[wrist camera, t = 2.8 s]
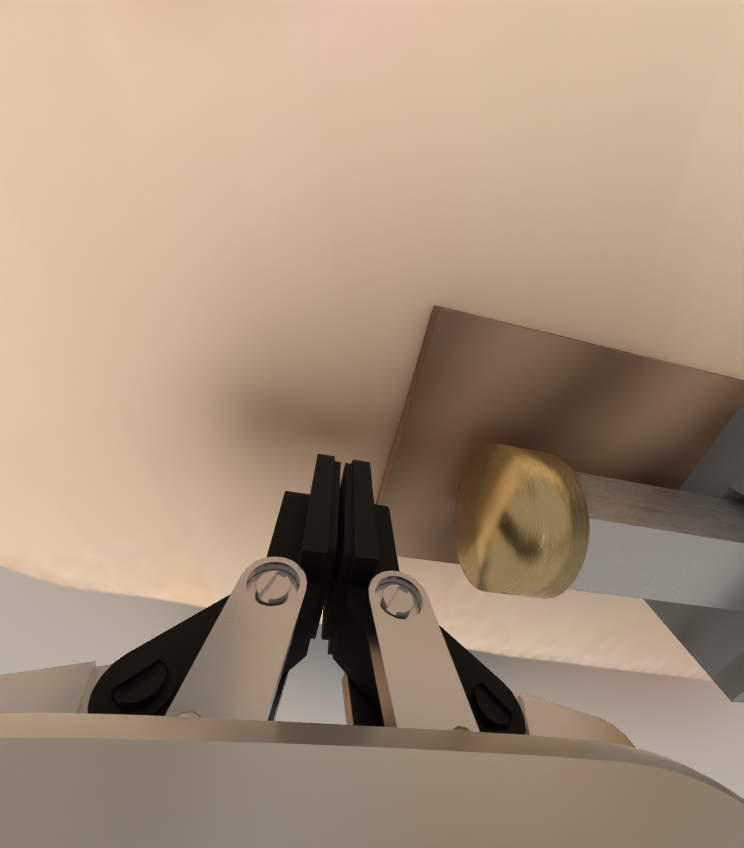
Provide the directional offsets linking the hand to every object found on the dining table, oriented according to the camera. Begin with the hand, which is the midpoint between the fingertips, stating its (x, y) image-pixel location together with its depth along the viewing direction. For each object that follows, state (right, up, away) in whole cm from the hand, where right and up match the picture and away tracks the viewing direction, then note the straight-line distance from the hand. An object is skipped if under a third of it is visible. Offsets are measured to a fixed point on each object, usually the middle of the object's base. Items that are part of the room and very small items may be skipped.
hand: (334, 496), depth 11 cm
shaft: (+11, -1, +4) cm, 12 cm away
